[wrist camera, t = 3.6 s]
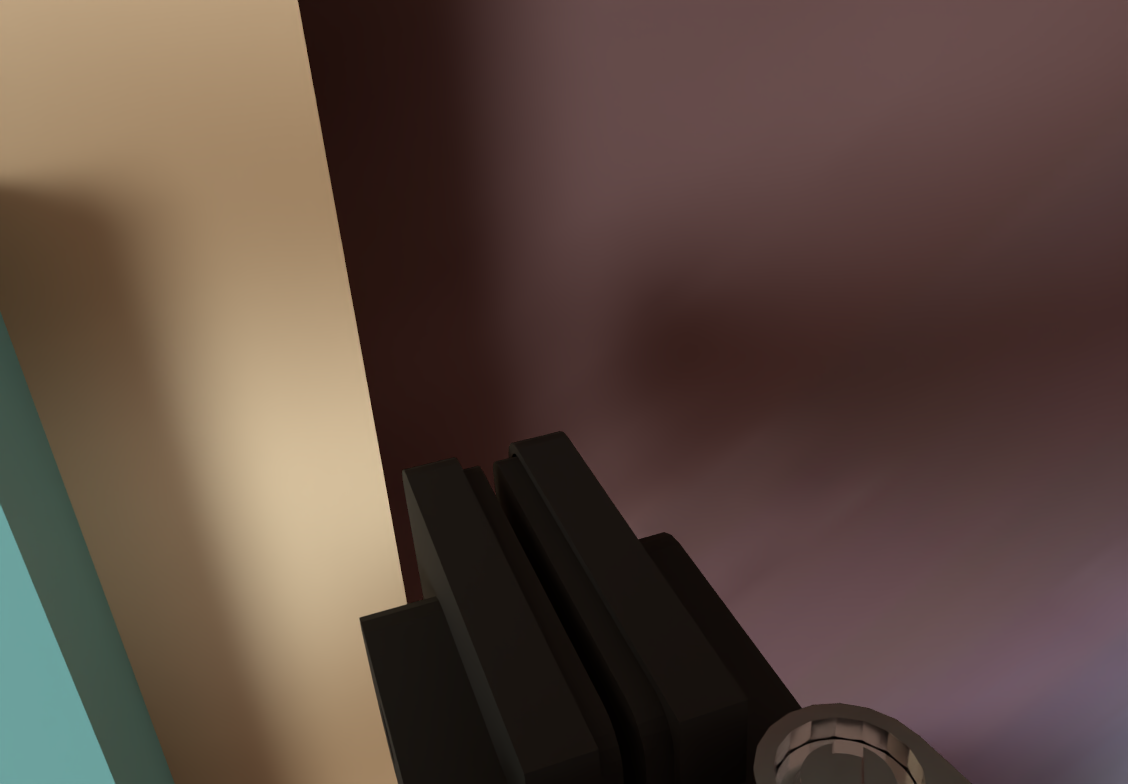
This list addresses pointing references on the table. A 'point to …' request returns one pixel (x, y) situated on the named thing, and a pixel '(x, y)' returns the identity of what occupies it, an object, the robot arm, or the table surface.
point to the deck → (201, 371)
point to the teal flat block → (58, 626)
